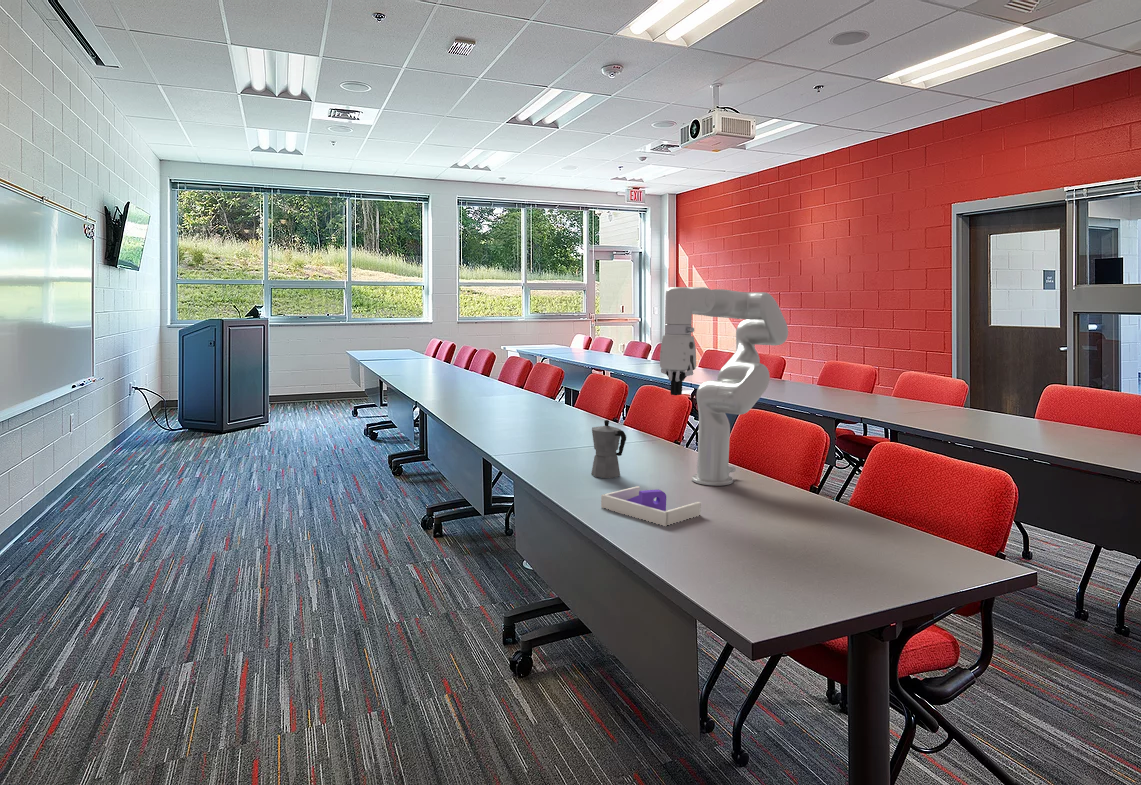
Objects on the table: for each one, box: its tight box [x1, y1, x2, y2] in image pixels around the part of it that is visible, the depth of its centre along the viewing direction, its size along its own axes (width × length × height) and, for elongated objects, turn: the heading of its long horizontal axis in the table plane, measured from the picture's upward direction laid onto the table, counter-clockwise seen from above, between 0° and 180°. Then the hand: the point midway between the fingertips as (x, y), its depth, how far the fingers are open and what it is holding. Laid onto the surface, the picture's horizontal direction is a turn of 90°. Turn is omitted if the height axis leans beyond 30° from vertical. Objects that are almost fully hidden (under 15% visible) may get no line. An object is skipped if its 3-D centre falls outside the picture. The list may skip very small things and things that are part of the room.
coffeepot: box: [591, 419, 627, 479], centre depth 224 cm, size 15×9×18 cm, turn 39°
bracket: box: [626, 489, 667, 511], centre depth 187 cm, size 12×7×7 cm, turn 19°
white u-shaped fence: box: [600, 485, 702, 527], centre depth 186 cm, size 14×22×4 cm, turn 43°
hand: (676, 394), depth 203 cm, fingers closed
